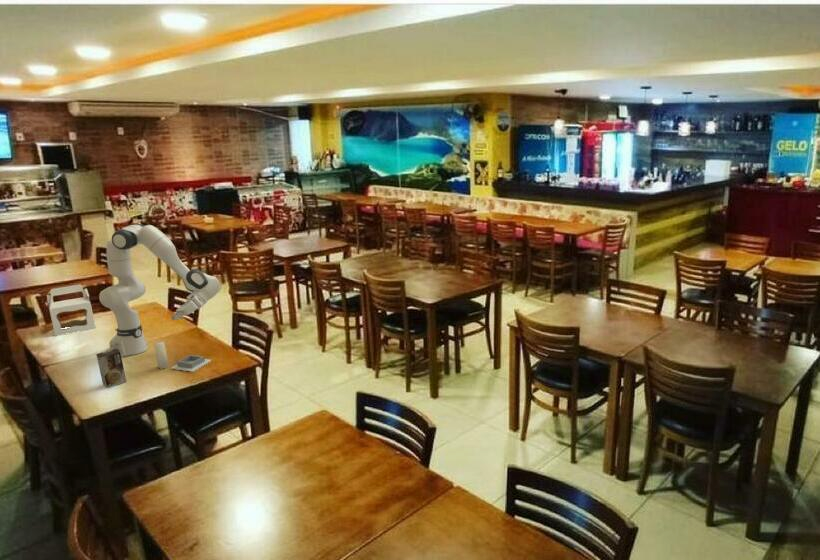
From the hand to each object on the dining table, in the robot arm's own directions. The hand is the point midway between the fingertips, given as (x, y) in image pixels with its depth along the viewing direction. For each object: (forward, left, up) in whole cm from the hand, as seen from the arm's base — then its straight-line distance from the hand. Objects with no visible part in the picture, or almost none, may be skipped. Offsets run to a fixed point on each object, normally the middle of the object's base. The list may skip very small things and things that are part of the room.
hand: (173, 319), depth 286 cm
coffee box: (-13, -30, -24) cm, 40 cm away
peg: (-4, -8, -24) cm, 25 cm away
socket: (+9, -2, -24) cm, 25 cm away
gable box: (-105, +22, -24) cm, 109 cm away
